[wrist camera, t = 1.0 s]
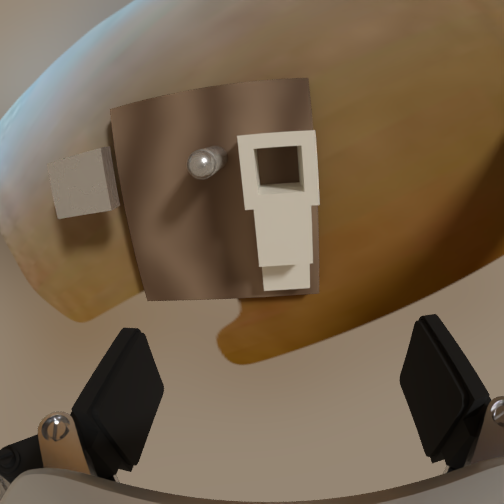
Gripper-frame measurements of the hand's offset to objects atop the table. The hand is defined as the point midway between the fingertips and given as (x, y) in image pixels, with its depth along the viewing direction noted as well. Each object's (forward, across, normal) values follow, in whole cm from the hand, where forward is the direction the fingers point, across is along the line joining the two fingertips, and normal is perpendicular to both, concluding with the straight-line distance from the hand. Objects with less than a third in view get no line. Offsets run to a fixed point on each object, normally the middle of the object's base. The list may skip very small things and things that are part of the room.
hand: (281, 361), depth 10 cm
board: (+18, +5, -2) cm, 19 cm away
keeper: (+18, +16, -5) cm, 25 cm away
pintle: (+17, +5, -5) cm, 18 cm away
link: (+17, 0, -1) cm, 17 cm away
